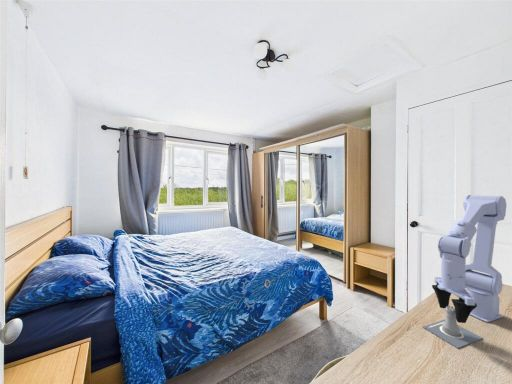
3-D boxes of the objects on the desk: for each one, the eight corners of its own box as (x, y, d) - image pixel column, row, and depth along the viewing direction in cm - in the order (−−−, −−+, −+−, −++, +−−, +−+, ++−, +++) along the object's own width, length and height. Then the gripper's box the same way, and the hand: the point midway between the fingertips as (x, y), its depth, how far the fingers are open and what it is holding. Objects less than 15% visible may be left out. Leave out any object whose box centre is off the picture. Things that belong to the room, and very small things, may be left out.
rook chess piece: (463, 337, 68) (463, 313, 68) (445, 334, 70) (446, 310, 69) (455, 328, 72) (456, 305, 72) (439, 326, 74) (439, 303, 74)
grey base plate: (446, 319, 78) (446, 318, 78) (482, 338, 68) (482, 337, 68) (422, 327, 74) (422, 326, 74) (457, 348, 65) (457, 347, 64)
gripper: (425, 264, 78) (424, 301, 79) (456, 283, 64) (455, 328, 64) (447, 265, 77) (446, 302, 78) (483, 284, 63) (482, 330, 63)
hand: (452, 314), depth 71 cm, fingers open, 7 cm apart
